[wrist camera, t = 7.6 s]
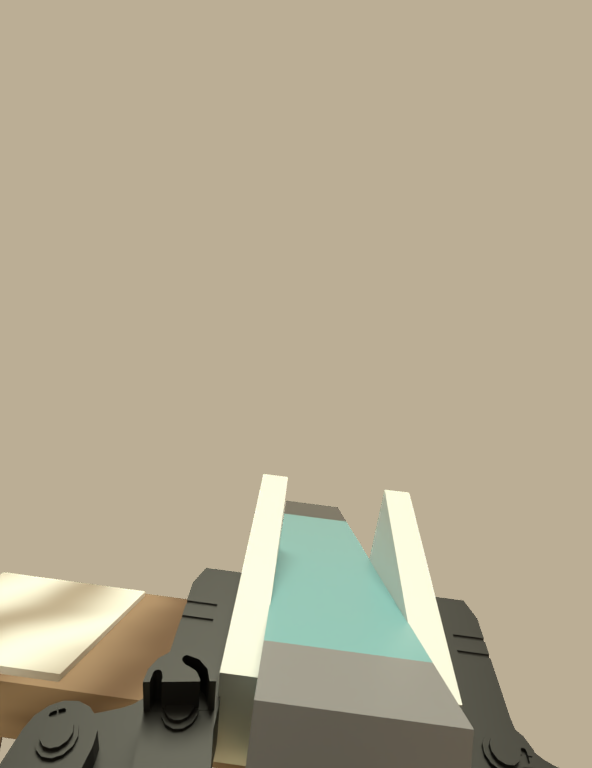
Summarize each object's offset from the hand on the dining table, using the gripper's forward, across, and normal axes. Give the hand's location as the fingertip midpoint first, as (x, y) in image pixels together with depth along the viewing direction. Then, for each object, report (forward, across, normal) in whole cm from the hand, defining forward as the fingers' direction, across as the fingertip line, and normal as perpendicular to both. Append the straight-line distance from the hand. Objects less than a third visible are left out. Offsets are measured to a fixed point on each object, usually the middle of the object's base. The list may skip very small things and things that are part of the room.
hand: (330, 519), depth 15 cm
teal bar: (0, 0, -5) cm, 5 cm away
